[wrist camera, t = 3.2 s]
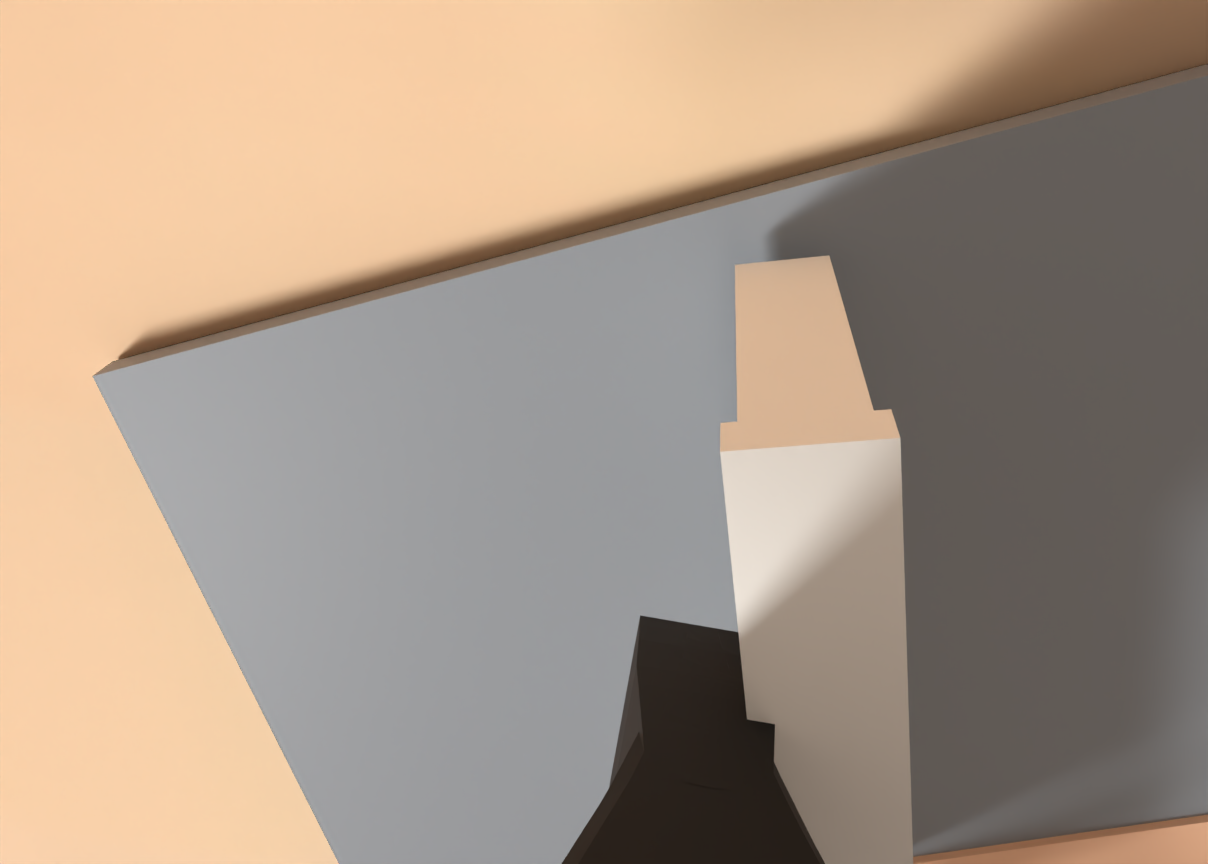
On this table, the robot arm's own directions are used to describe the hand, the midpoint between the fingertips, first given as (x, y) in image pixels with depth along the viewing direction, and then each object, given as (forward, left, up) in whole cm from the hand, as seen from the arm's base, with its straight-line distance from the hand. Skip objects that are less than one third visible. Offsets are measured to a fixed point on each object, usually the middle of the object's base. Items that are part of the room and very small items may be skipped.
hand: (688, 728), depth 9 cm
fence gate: (-1, -1, -2) cm, 3 cm away
